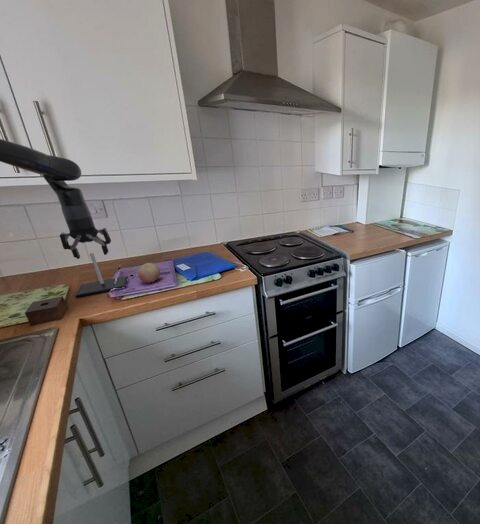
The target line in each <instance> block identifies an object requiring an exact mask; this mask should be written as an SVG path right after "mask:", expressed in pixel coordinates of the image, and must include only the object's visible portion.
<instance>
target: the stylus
mask: <svg viewBox="0 0 480 524" xmlns="http://www.w3.org/2000/svg"><path fill="white" fill-rule="evenodd" d="M89 257H90V259H91V262H92V264H93V267H94V269H95V273H96V275H97V278H98V281H100V283H101V285H102V286H103V285H104V281H103V280H104V278H103V275H102V273H101V270H100V267H99V264H98V262H97V260H96V256H95V254H94V253H93V252H91V253H89Z"/></svg>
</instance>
